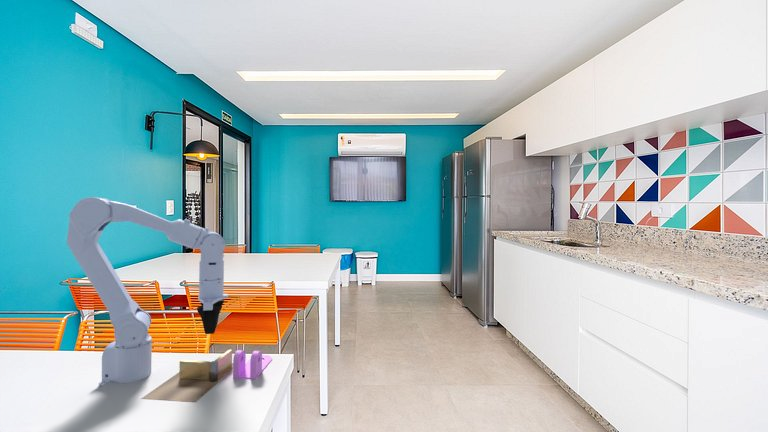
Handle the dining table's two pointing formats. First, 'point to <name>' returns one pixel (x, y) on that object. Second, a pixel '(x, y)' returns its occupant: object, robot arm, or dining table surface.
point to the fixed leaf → (220, 365)
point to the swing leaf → (194, 369)
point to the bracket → (249, 364)
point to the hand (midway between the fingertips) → (210, 330)
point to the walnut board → (183, 389)
